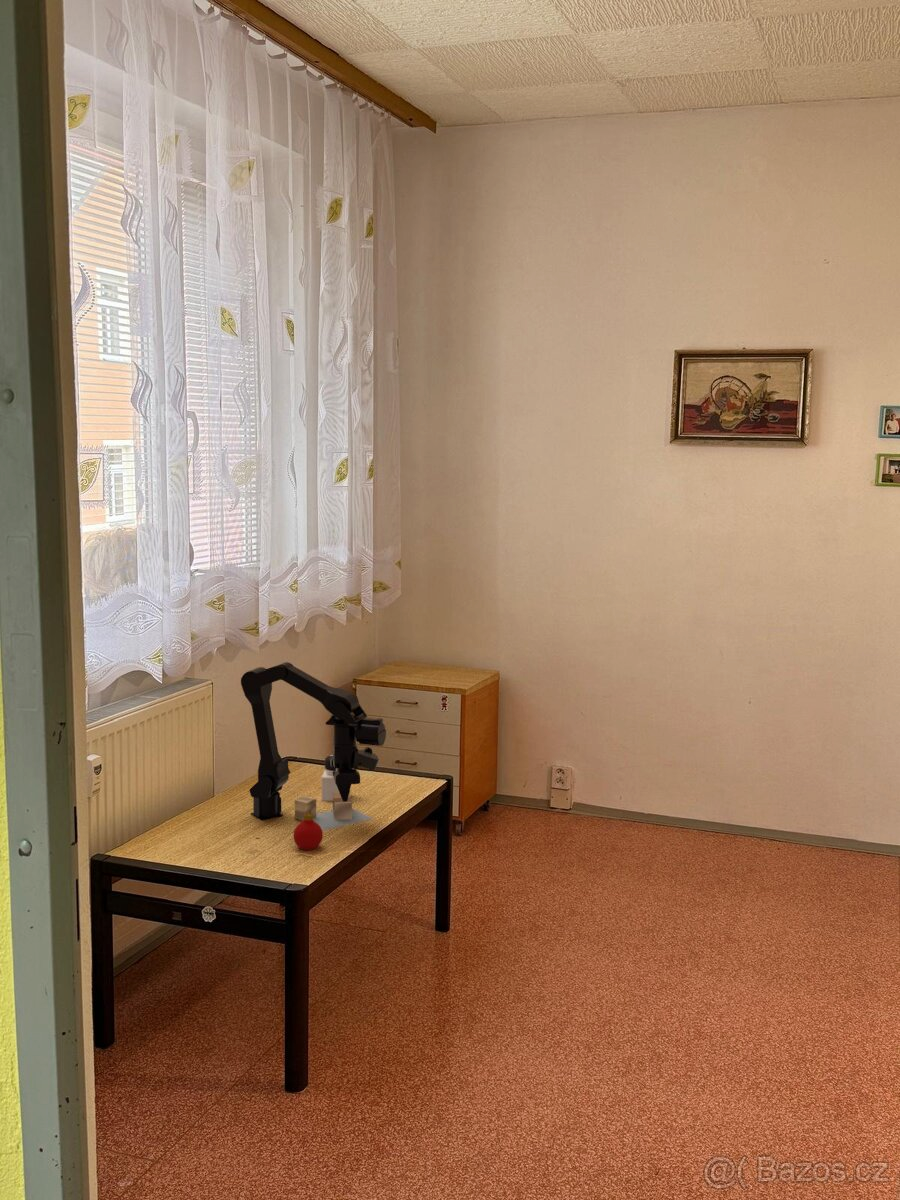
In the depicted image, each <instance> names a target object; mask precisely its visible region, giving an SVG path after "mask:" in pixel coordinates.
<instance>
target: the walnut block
mask: <svg viewBox="0 0 900 1200" xmlns="http://www.w3.org/2000/svg"><path fill="white" fill-rule="evenodd" d="M352 809H353V801H352V797H351V791H350V792H349V796H348V800H347V802H343V800H342V798H341V795H340V793H333V801H332V810H333V813H334V819H335V820H348V819H352Z"/></svg>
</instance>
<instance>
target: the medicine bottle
mask: <svg viewBox="0 0 900 1200" xmlns="http://www.w3.org/2000/svg"><path fill="white" fill-rule="evenodd" d="M333 755H334V754H332V755H331V754H330V755H328V756H325V758H324V771H323V773H322V775H321V801H322V802H333V793H339V790H338V788H337V785H336V784H335V781H334V776H333V773H332V772H334V771H336V768H334V767H331V757H332V756H333Z"/></svg>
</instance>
